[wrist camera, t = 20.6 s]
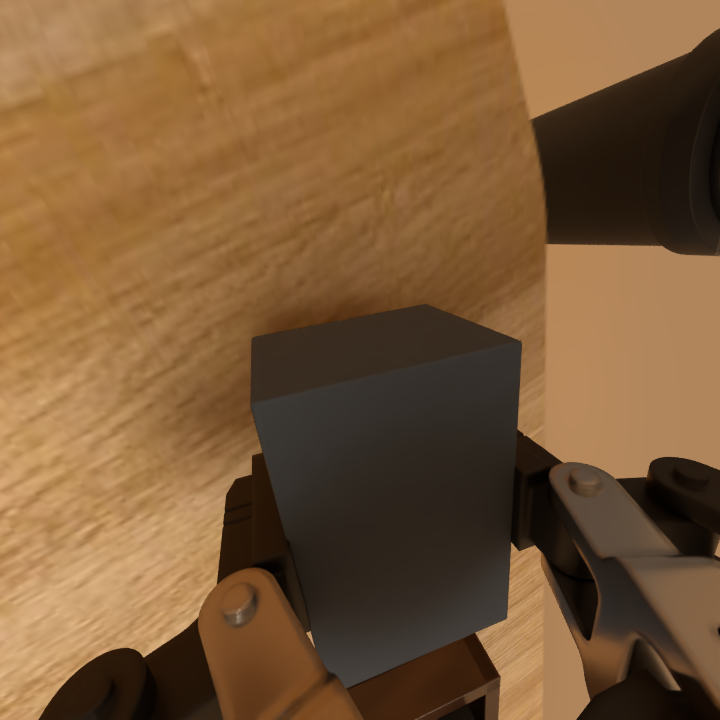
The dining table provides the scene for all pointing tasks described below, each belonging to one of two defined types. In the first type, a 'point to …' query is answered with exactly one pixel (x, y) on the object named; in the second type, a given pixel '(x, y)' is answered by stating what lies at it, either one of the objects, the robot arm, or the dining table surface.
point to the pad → (392, 478)
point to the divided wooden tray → (433, 685)
